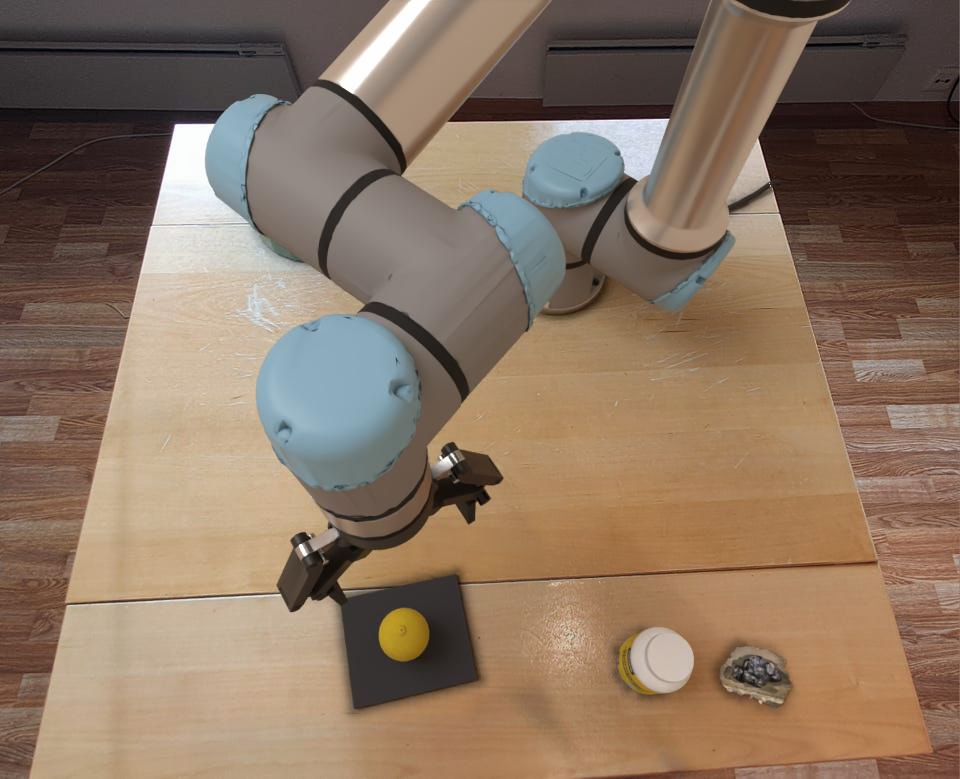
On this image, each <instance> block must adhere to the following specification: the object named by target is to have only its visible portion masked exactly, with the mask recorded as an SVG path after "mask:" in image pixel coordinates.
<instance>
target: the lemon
mask: <svg viewBox="0 0 960 779" xmlns="http://www.w3.org/2000/svg"><path fill="white" fill-rule="evenodd" d="M428 640H429V627H428V624H427V622H426V620H425V618H424V617H423V616H422V615H421V614H420V613H419V612H417V611H416V610H413V609H410V608H400V609H396V610H394V611H392V612H390V613H389V614H388V615H387V616H386V617H385V618H384V620H383V621H382V623H381V625H380V629H379V642H380V645H381V648H382V649H383V651H384V653H386V654H387V655H388V656H389V657H390V658H392V659H394V660H397V661H410V660H413V659H415V658H416V657H418V656H419V655H420V654H421V653H422V652H423V651H424V650H425V648H426V646H427V644H428Z"/></svg>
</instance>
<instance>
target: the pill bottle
mask: <svg viewBox="0 0 960 779" xmlns="http://www.w3.org/2000/svg"><path fill="white" fill-rule="evenodd" d="M694 666H695V656H694V650H693V649H692V647H691V645H690V643H689V642H688V641H687V640H686V639H685V638H684V637H682V636H681V635H680V634H679V633H678V632H677V631H675V630H673V629H671V628H669V627H664V626H652V627H649V628H646V629H644V630H642V631H640V632H638V633H635V634H633V635H630V636H629V637H628V638H626V639H625V640H624V641H623V642H622V643H621V644H620V647H618V650H617V654H616V669H617V673H618V675H619V678H620V679H621V681H622V682H623V683H624V685H625V686H627V688H629V689H630V690H632V691H633V692H635V693H638V694H641V695H646V696H647V695H649V696H650V695H659V694H661V695H662V694H670V693H675V692H677V691H678V690H680V689H681V688H683V687H684V686H685V685H686V684H687V683H688V682H689V679H690V677H691V675H692V672H693V669H694Z"/></svg>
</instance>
